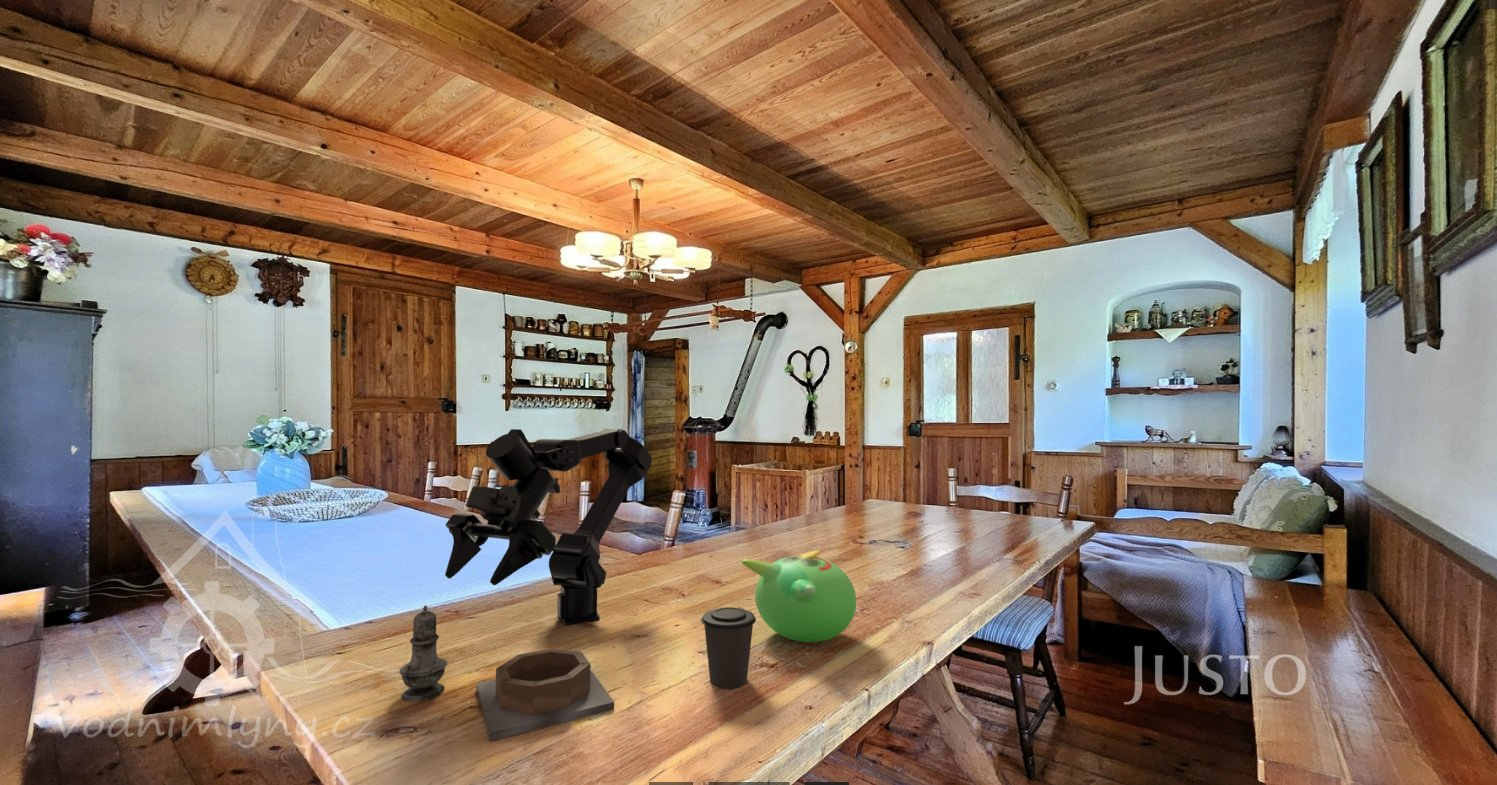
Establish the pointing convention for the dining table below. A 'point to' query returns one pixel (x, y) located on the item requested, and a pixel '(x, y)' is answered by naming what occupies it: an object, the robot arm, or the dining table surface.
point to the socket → (541, 692)
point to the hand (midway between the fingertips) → (469, 580)
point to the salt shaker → (423, 661)
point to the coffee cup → (728, 645)
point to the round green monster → (804, 597)
